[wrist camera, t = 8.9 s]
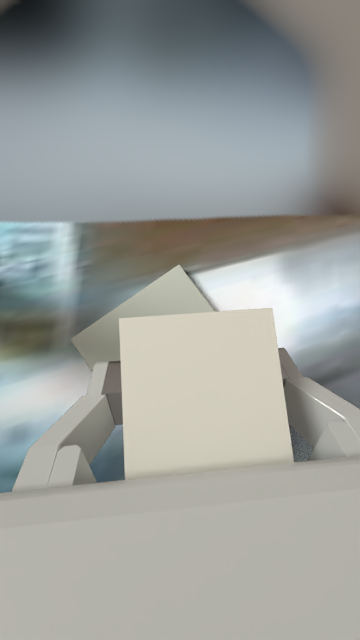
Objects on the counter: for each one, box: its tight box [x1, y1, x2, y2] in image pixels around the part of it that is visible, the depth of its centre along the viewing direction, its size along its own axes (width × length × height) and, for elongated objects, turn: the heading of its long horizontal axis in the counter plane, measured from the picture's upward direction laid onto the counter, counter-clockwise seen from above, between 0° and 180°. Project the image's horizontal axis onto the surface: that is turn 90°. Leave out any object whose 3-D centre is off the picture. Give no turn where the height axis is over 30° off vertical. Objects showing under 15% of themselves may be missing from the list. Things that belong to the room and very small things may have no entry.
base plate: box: [70, 265, 215, 372], centre depth 24 cm, size 18×14×6 cm
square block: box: [119, 308, 294, 480], centre depth 11 cm, size 4×4×8 cm
